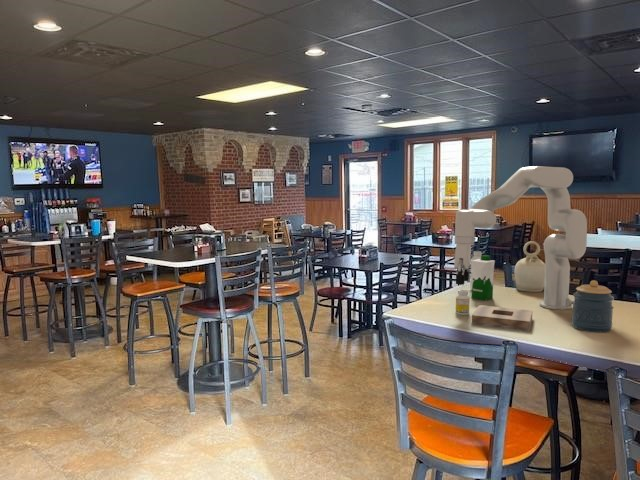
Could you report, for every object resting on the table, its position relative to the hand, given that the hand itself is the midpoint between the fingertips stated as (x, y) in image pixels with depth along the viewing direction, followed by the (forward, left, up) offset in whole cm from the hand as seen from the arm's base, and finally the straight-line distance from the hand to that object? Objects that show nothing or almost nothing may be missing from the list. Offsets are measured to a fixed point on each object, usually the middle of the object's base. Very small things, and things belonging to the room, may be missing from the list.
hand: (462, 282), depth 193 cm
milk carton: (-3, -33, -13) cm, 36 cm away
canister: (-46, 0, -13) cm, 48 cm away
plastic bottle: (+2, -50, -13) cm, 52 cm away
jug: (-22, -65, -13) cm, 70 cm away
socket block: (-16, +6, -13) cm, 22 cm away
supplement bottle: (0, 0, -13) cm, 13 cm away
